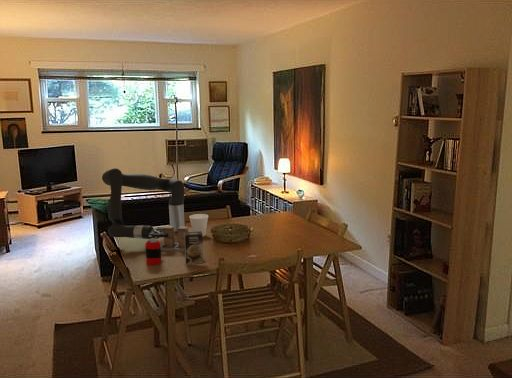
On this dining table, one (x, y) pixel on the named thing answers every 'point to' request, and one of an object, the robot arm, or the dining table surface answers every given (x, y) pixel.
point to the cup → (199, 222)
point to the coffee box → (193, 248)
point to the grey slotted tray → (175, 249)
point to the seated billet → (182, 236)
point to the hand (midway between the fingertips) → (170, 233)
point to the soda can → (153, 252)
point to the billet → (169, 237)
